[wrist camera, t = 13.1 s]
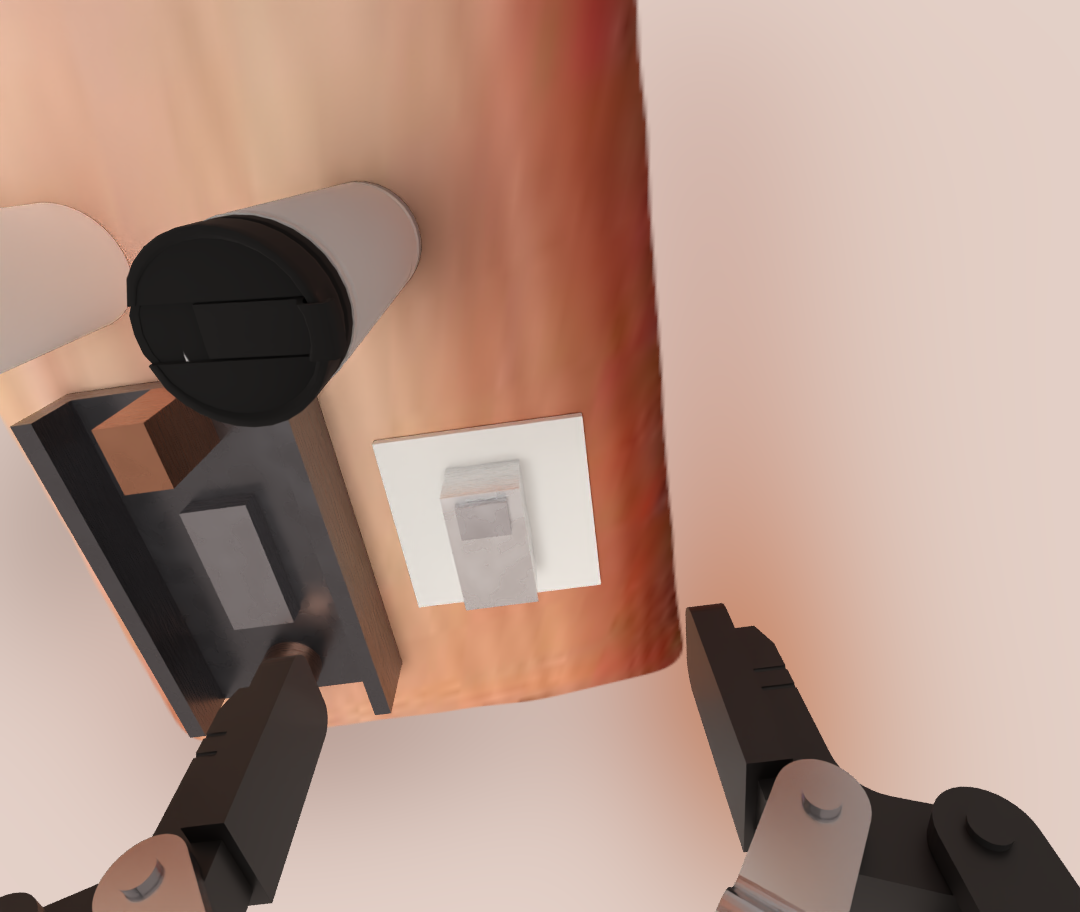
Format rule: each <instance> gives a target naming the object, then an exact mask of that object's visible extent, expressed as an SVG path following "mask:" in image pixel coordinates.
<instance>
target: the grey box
mask: <svg viewBox="0 0 1080 912" xmlns="http://www.w3.org/2000/svg"><path fill="white" fill-rule="evenodd" d="M440 503H441V508H442V512H443V516H444V520H445V524H446V528H447V532H448V537H449V541H450V545H451V549H452V553H453V557H454V562H455V566H456V570H457V574H458V578H459V582H460V587H461V591H462V595H463V599H464V603H465V607H466V610H473V609H481V608H489V607H497V606H505V605H513V604H521V603H529V602H537V601H538V582H537V564H536V558H535V552H534V546H533V540H532V534H531V528H530V522H529V516H528V510H527V504H526V498H525V491H524V485H523V479H522V473H521V467H520V461H519V459H514V460H506V461H499V462H491V463H484V464H476V465H468V466H461V467H453V468H446V471H445V476H444V480H443V485H442V489H441V494H440Z"/></svg>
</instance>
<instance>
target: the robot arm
mask: <svg viewBox="0 0 1080 912" xmlns="http://www.w3.org/2000/svg"><path fill="white" fill-rule="evenodd" d="M686 643H687V666H688V672H689V678H690V683H691V688H692V691H693V695H694V698H695V701H696V704H697V707H698V711H699V713H700V717H701V720H702V723H703V726H704V729H705V733H706V736H707V739H708V742H709V745H710V748H711V751H712V754H713V758H714V761H715V764H716V767H717V770H718V773H719V777H720V780H721V783H722V786H723V789H724V792H725V795H726V799H727V802H728V805H729V808H730V811H731V814H732V817H733V820H734V824H735V827H736V830H737V833H738V836H739V839H740V842H741V846H742V849H743V852H748V853H747V855H746V858H745V860H744V863H743V865H742V868H741V871H740V873H739V876H738V878H737V880H736V882H735V885H734V886H733V887H732V888H731V887H728V888H727V889H726V891H725V893H724V894H723V896H722V898H721V900H720V903H719V905H718V907H717V909H716V912H1080V887H1079V886H1078V884H1077V883H1076V881H1075V880H1074V878H1073V877H1072V876H1071V874H1070V873H1069V872H1068V870H1067V868H1066V867H1065V865H1064V864H1063V863H1062V861H1061V860H1060V858H1059V857H1058V855H1057V854H1056V852H1055V851H1054V850H1053V848H1052V847H1051V845H1050V844H1049V842H1048V841H1047V839H1046V838H1045V836H1044V835H1043V834H1042V832H1041V831H1040V829H1039V828H1038V827H1037V825H1036V824H1035V823H1034V822H1033V821H1032V820H1031V819H1030V818H1029V816H1028V815H1027V814H1026V813H1024V812H1023V811H1022V810H1021V809H1019V808H1018V807H1017V806H1016V805H1014V804H1012V803H1011V802H1009V801H1008V800H1006V799H1004V798H1002V797H1001V796H999V795H996V794H994V793H991V792H989V791H986V790H982V789H979V788H973V787H956V788H951V789H949V790H946V791H944V792H943V793H941V794H940V795H939V796H938V797H937V799H936V801H935V803H934V804H929V803H923V802H918V801H912V800H907V799H902V798H897V797H892V796H888V795H884V794H880V793H877V792H875V791H872V790H870V789H868V788H866V787H864V786H862V785H861V784H859V783H858V782H857V781H856V779H855V778H853V777H852V776H851V775H850V774H849V773H847V772H846V771H844V770H843V769H841V768H840V767H839V766H838V765H837V763H836V762H835V761H834V759H833V757H832V756H831V754H830V752H829V750H828V749H827V746H826V744H825V743H824V740H823V738H822V737H821V735H820V733H819V731H818V729H817V727H816V725H815V723H814V721H813V719H812V717H811V715H810V713H809V711H808V709H807V707H806V705H805V703H804V701H803V699H802V697H801V695H800V693H799V691H798V689H797V688H795V685H794V682H793V680H792V678H791V676H790V674H789V672H788V670H787V669H786V668H785V664H784V662H783V660H782V658H781V656H780V654H779V653H778V650H777V648H776V646H775V644H774V643H773V642H772V641H771V640H770V639H768V638H767V637H766V636H765V635H764V634H762V632H760V631H759V630H758V629H757V628H756V627H755V626H749V627H741V628H734V625H733V623H732V620H731V618H730V616H729V614H728V612H727V609H726V607H725V606H724V604H722V603H720V604H712V605H703V606H695V607H688V608H686ZM327 722H328V717H327V708H326V705H325V702H324V699H323V697H322V695H321V692H320V690H319V687H318V685H317V683H316V680H315V678H314V675H313V673H312V671H311V668H310V666H309V663H308V661H307V659H306V658H305V657H304V656H303V655H294V656H286V657H278V658H270V659H265V660H264V661H262V663H261V664H260V665H259V667H258V669H257V671H256V673H255V675H254V678H253V680H252V682H251V684H250V686H249V687H245V688H239V689H238V690H237V691H236V692H235V693H234V694H233V695H232V696H231V697H230V698H229V700H228V701H227V702H226V703H225V704H224V705H223V706H222V707H221V708H220V709H219V710H218V712H217V714H216V716H215V718H214V720H213V722H212V724H211V726H210V727H209V729H208V731H207V733H206V738H205V739H203V741H202V743H201V745H200V747H199V749H198V750H197V752H196V758H194V759H193V760H192V762H191V764H190V766H189V768H188V770H187V772H186V774H185V775H184V777H183V779H182V781H181V783H180V785H179V787H178V789H177V791H176V793H175V795H174V796H173V798H172V800H171V802H170V804H169V806H168V808H167V810H166V812H165V814H164V816H163V818H162V820H161V821H160V823H159V825H158V827H157V829H156V831H155V833H154V834H153V836H152V837H150V838H148V839H146V840H143V841H141V842H140V843H138V844H136V845H135V846H133V847H132V848H130V849H129V850H128V851H126V852H125V853H124V854H123V855H121V856H120V857H119V858H118V859H117V860H116V861H115V862H114V863H113V864H112V865H111V867H110V868H109V869H108V870H107V872H106V873H105V875H104V876H103V877H102V879H101V881H100V882H99V884H96V885H94V886H92V887H90V888H88V889H85V890H83V891H81V892H78V893H76V894H73V895H71V896H68V897H66V898H64V899H61V900H59V901H56V902H54V903H52V904H49V905H47V906H45V907H42V906H41V905H40V904H39V903H38V902H37V901H36V899H35V898H34V897H33V896H32V895H30V894H27V893H12V894H8V895H5V896H3V897H0V912H246V910H247V908H248V906H250V905H258V904H268V903H272V902H273V899H274V896H275V892H276V889H277V886H278V883H279V880H280V877H281V874H282V871H283V867H284V864H285V861H286V858H287V855H288V852H289V849H290V846H291V842H292V839H293V836H294V833H295V830H296V827H297V824H298V821H299V817H300V814H301V811H302V808H303V805H304V802H305V799H306V795H307V792H308V789H309V786H310V783H311V779H312V777H313V774H314V771H315V767H316V764H317V761H318V758H319V755H320V752H321V749H322V745H323V742H324V739H325V736H326V732H327Z"/></svg>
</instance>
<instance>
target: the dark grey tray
mask: <svg viewBox="0 0 1080 912" xmlns="http://www.w3.org/2000/svg"><path fill="white" fill-rule="evenodd" d="M10 427H11V429H12V431H13V433H14V434H15V436H16V438H17V439H18V441H19V443H20V445H21V446H22V448H23V450H24V452H25V453H26V455H27V457H28V458H29V460H30V462H31V464H32V465H33V467H34V469H35V471H36V472H37V474H38V476H39V477H40V479H41V481H42V483H43V484H44V486H45V488H46V490H47V491H48V493H49V495H50V496H51V498H52V500H53V502H54V503H55V505H56V507H57V509H58V510H59V512H60V514H61V515H62V517H63V519H64V521H65V522H66V524H67V526H68V528H69V529H70V531H71V533H72V534H73V536H74V538H75V540H76V541H77V543H78V545H79V546H80V548H81V550H82V552H83V553H84V555H85V557H86V559H87V560H88V562H89V564H90V565H91V567H92V569H93V571H94V572H95V574H96V576H97V578H98V579H99V581H100V583H101V584H102V586H103V588H104V590H105V591H106V593H107V595H108V597H109V598H110V600H111V602H112V603H113V605H114V607H115V609H116V610H117V612H118V614H119V616H120V617H121V619H122V621H123V622H124V624H125V626H126V628H127V629H128V631H129V633H130V635H131V636H132V638H133V640H134V641H135V643H136V645H137V647H138V648H139V650H140V652H141V653H142V655H143V657H144V659H145V660H146V662H147V664H148V666H149V667H150V669H151V671H152V672H153V674H154V676H155V678H156V679H157V681H158V683H159V685H160V686H161V688H162V690H163V691H164V693H165V695H166V697H167V698H168V700H169V702H170V704H171V705H172V707H173V709H174V710H175V712H176V714H177V716H178V717H179V719H180V721H181V723H182V724H183V726H184V728H185V729H186V731H187V733H188V735H189V736H190V738H191V737H200V736H206V733H207V731H208V729H209V727H210V726H211V724H212V722H213V720H214V718H215V716H216V714H217V712H218V710H219V709H220V708H221V706H222V704H223V702H224V700H225V698H230V697H231V696H232V695H233V694H234V693H235V692H236V691H237V690H238V689H239V688H245V687H249V686H250V684H251V682H252V680H253V678H254V675H255V673H256V671H257V669H258V667H259V665H260V664H261V663H262V661H264V660H265V659H270V658H278V657H286V656H294V655H303V656H304V657H305V658H306V659H307V661H308V663H309V666H310V668H311V671H312V673H313V675H314V678H315V680H316V683H317V685H318V687H322V686H330V685H338V684H346V683H354V682H362V681H363V683H364V686H365V689H366V692H367V694H368V697H369V700H370V702H371V705H372V708H373V711H374V713H375V715H380V714H388V713H391V711H392V706H393V702H394V697H395V693H396V688H397V683H398V679H399V674H400V670H401V665H402V661H401V658H400V655H399V652H398V649H397V645H396V642H395V639H394V636H393V633H392V630H391V627H390V624H389V621H388V617H387V614H386V611H385V608H384V605H383V602H382V599H381V596H380V592H379V589H378V586H377V583H376V580H375V577H374V574H373V571H372V568H371V564H370V561H369V558H368V555H367V552H366V549H365V546H364V543H363V540H362V536H361V533H360V530H359V527H358V524H357V521H356V518H355V515H354V512H353V508H352V505H351V502H350V499H349V496H348V493H347V490H346V487H345V484H344V480H343V477H342V474H341V471H340V468H339V465H338V462H337V459H336V455H335V452H334V449H333V446H332V443H331V440H330V437H329V434H328V431H327V427H326V424H325V421H324V418H323V415H322V412H321V409H320V406H319V403H318V399H317V396H316V398H315V399H314V400H313V401H312V402H311V403H310V404H309V405H308V406H307V407H306V408H305V409H304V410H303V411H302V412H301V413H299V414H297V415H296V416H294V417H292V418H291V419H289V420H287V421H284V422H281V423H278V424H275V425H271V426H263V427H242V426H234V425H230V424H226V423H222V422H218V421H216V420H213V419H211V418H209V417H206V416H204V415H202V414H199V413H198V412H196V411H194V410H193V409H191V408H189V407H188V406H186V405H185V404H183V403H181V402H180V401H179V400H178V399H177V398H175V397H174V396H173V395H172V394H171V393H169V392H168V391H167V390H166V389H165V388H164V386H163V385H162V384H161V382H160V381H158V382H151V383H144V384H137V385H129V386H122V387H115V388H108V389H101V390H94V391H87V392H80V393H72V394H67V395H65V396H64V397H62V398H60V399H58V400H56V401H55V402H53V403H51V404H49V405H48V406H46V407H44V408H42V409H41V410H39V411H37V412H35V413H33V414H32V415H30V416H28V417H26V418H25V419H23V420H21V421H19V422H18V423H16V424H14V425H12V426H10Z"/></svg>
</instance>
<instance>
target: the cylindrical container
mask: <svg viewBox="0 0 1080 912" xmlns="http://www.w3.org/2000/svg"><path fill="white" fill-rule="evenodd" d="M129 271H130V268H129V265H128V262H127V260H126V258H125V256H124V253H123V252H122V250H121V249H120V247H119V246H118V244H117V243H116V241H115V240H114V239H113V237H112V236H111V235H110V234H109V233H108V232H107V231H106V230H105V229H104V228H103V227H102V226H101V225H99V224H98V223H97V222H96V221H94V220H93V219H92V218H90V217H88V216H87V215H85V214H83V213H82V212H80V211H78V210H75V209H73V208H70V207H68V206H65V205H60V204H55V203H34V204H26V205H19V206H11V207H3V208H0V374H1V373H3V372H6V371H8V370H10V369H12V368H14V367H17V366H19V365H21V364H23V363H26V362H28V361H30V360H32V359H34V358H37V357H39V356H41V355H43V354H45V353H48V352H50V351H52V350H54V349H57V348H59V347H61V346H63V345H65V344H68V343H70V342H72V341H74V340H76V339H79V338H81V337H83V336H85V335H88V334H90V333H92V332H94V331H96V330H99V329H101V328H103V327H105V326H107V325H110V324H112V323H113V322H115V321H116V320H117V319H119V318H120V317H121V316H122V314H123V313H124V312H125V310H126V309H127V286H126V279H127V276H128V273H129Z"/></svg>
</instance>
